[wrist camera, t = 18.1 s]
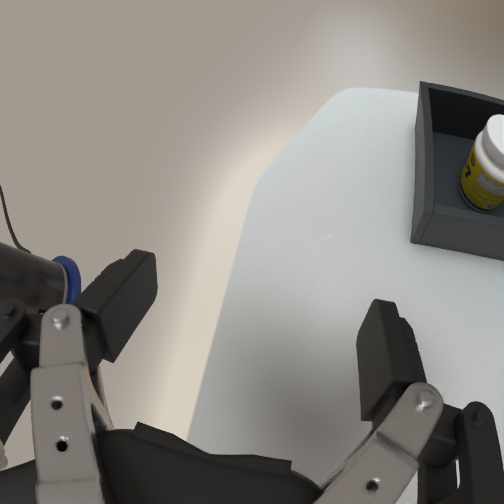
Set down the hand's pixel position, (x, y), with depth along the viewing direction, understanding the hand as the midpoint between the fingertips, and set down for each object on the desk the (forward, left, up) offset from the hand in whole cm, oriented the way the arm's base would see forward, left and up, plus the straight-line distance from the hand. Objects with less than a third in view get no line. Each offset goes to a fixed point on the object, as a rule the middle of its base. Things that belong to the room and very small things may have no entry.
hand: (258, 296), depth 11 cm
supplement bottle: (+10, +16, -14) cm, 24 cm away
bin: (+9, +16, -15) cm, 24 cm away
